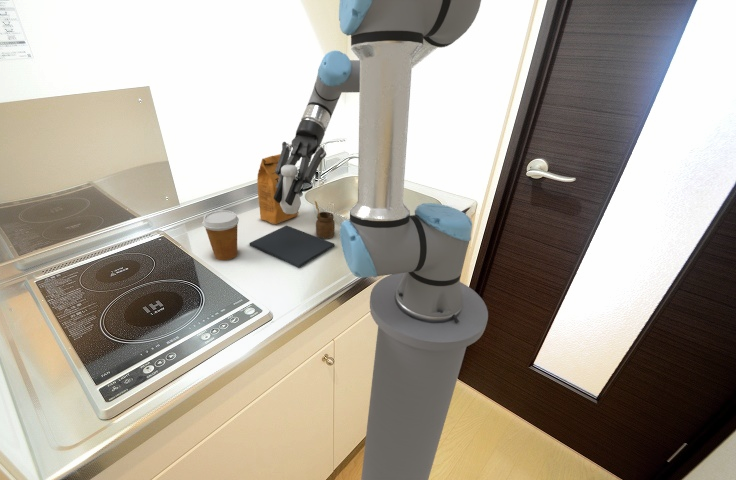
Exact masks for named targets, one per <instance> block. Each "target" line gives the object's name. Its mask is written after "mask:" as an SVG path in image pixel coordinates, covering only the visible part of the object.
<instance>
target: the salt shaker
mask: <svg viewBox="0 0 736 480" xmlns="http://www.w3.org/2000/svg"><path fill="white" fill-rule="evenodd" d="M281 174H282V175H283V188H282V200H281V202H280V206H281V208H282V210H283V212H285V213H286V214H295V213H297V212H298V213H299V210H300V208H301V205H302V202H301V201H302V200H301V195H300V193H299V194H296V196H295V198H294V201H293V203H292V206H290V205H288V204H287V203H286V202H285V199H286V197H287V195H288V192H289V190H290V187H291V185H292V182H293V180H294V179H295V180H297V179H296V176H298V167H297V166H296V165H295V166H294V165H284V166H283V167H282V168H281Z"/></svg>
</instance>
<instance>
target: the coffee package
mask: <svg viewBox="0 0 736 480" xmlns="http://www.w3.org/2000/svg"><path fill="white" fill-rule="evenodd" d="M280 155H281V153H279V154H275V155H270V156H266V157H264V158H262V159H261V162H260V165H259V169H258V170H257V171H258V172H257V179H256V181H257V184H256V185H257V194H258V195H257V196H258V197H257V198H258V206H259V216H260V220H261V221H264V222H265V221H266V222H268V223H270V224H275V225H278V224H279V223H282V222H284V221H288V220H291V219H293V218H295V217H297V216H298V215H299V211H298V212H297V213H295V214H286V213H285V212H283V210H282V208H281V206H280V203H278V202H277V201H276V200H275V199H274V195H275V193H276V191H277V188H276V185H277V183H278V180H279V176H278V175H277V174H276V173H275V170H276V167H277V164H278V161H279V158H280Z"/></svg>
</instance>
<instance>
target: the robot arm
mask: <svg viewBox="0 0 736 480" xmlns="http://www.w3.org/2000/svg"><path fill="white" fill-rule="evenodd" d="M481 3H482V0H339V5H338V21H339V28H340V31H341V33H342V34H344V35H346V36H347V37H349V36H350V50H351V51H352V52H353V53H354V55H355V56H356V57H357V60H356V59H350V58H349V56H348V55H347V54H346V53H343V52H342V51H340V50H330V51H329V52H327V53H325V54H324V56H323V58H322V60H321V61H320V64H319V66H318V70H317V75H316V79H315V83H314V85H313V89H312V91H311V94H310V97H309V99H308V102H307V105H306V107H305V109H304V111H303V114H302V116H301V119H300V121H299V123H298V126H297V129H296V131H295V136H294V137H293V139H292V140H291V142H286V141H282V143H281V152H280V154H281V155H280V158H279V161H278V164H277V167H276V170H275V173H276V174H277V175H278V176H279V180H278V183H277V185H276V188H277V191H276V193H275V195H274V199H275V200H276V201H277V202H278V203H280V202H281V200H282V188H283V175H282V174H281V168H282V167H283V166H284V165H294V166H296V165H297V163H298V162H299V161H300V164H299V169H298V171H297V175H296V176H295V179H296V180H295V179H294V180H293V182H292V185H291V187H290V190H289V192H288V195H287V197H286V199H285V202H286V203H287V204H288V205H290V206H292V203H293V201H294V198H295V196H296V194H299V195H300V192H301V190H302V187H303V185H304V184H310V183H312V181H313V178H314V176H315V174H316V172H317V171H318V168H319V166H320V164H321V162H322V161H323V159H324V158H325V157H326V156H327V152H326V151H325V149H324V147H321V144H322V142H323V139H324V136H325V135H326V134H325V133H326V132H327V130H328V127H329V124H330V121H331V119H332V116H333V114H334V112H335V109H336V107H337V105H338V102H339V100H340V98H341V96H342V94H343V93H359V101H358V102H359V104H358V111H359V112H358V160H357V161H358V163H357V164H358V167H357V201H356V203H355V204H354V205H353V206H351V207H350V209H349V220H348V219H346V220H344V221H342V222H341V224H340V228H339V236H340V244H341V247H342V248H341V249H342V253H343V256H344V259H345V262H346V265H347V267H348V270H349V271H350V272H351V274H352V275H353V276H354V277H357V278H374V279H375V278H377V277H383V276H389V275H392V274H399V273H405V274H404V276H403V278H402V279H401V281H400V283H399V285H398V287H397V289H396V294H395V302H396V304H397V306H398V308H399V309H400V310H401V311H402V312H403V313H405V314H406V315H408V316H409V317H411V318H414V319H416V320H419V321H423V322H428V323H444V322H448V321H451V320H453V319H454V321H455V322H456V323H458V322H459V320H458V319H457V317H458V316H459V314H460V312H461V309H462V305H463V298H462V291H461V284H460V282H461V277H462V273H463V269H464V264H465V260H466V256H467V252H468V248H469V244H470V241H472V231H473V222H472V219H471V218H470V217H469V215H467V214H466V213H465V212H463V211H461V210H460V209H457V208H455V207H452V206H449V205H445V204H442V203H433V202H423V203H420V204H418V205H417V206H416V208H415V209H414V214H412V215H411V210H410V209H409V207H407V205H405V203H404V187H405V172H406V160H407V142H408V128H409V112H410V99H411V98H410V97H411V86H412V85H411V84H412V70H413V68H414V67H416V66H417V65H418V64H420V63H421V62H422V61H423V60H425V59H426V58H428V57H429V56H430V55H431V54H432V53H433V52H434V51H435V50H437V49H439V48H446V47H448V46H449V47H450V46H451V45H452V44H454V43H455V42H457V40H459V39H461V37H462V36H463V35H464V34H466V33H467V32H468V30H469V29H470V28H471V26H472V25H473V23H474V22H475V20H476V18H477V15H478V13H479V11H480V7H481V5H482V4H481ZM312 156H313V157H312Z"/></svg>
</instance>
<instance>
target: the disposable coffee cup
mask: <svg viewBox="0 0 736 480" xmlns="http://www.w3.org/2000/svg"><path fill="white" fill-rule="evenodd" d="M239 219H240V218H239V217H238V215H237V213H236V212H235V211H232V210H227V209H226V210H225V209H223V210H222V209H221V210H220V209H219V210H214V211H211V212H207V213H206V214H204V216H203V220H202V222H201V223H202V226H203V227H204V228H205V231H206V234H207V238H208V240H209V243H210V246H211V250H212V253H213V256H214V258H215V259H216V260H218V261H229V260H232V259H235V258H236V257H237V256H238V225H239V221H240V220H239Z"/></svg>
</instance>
